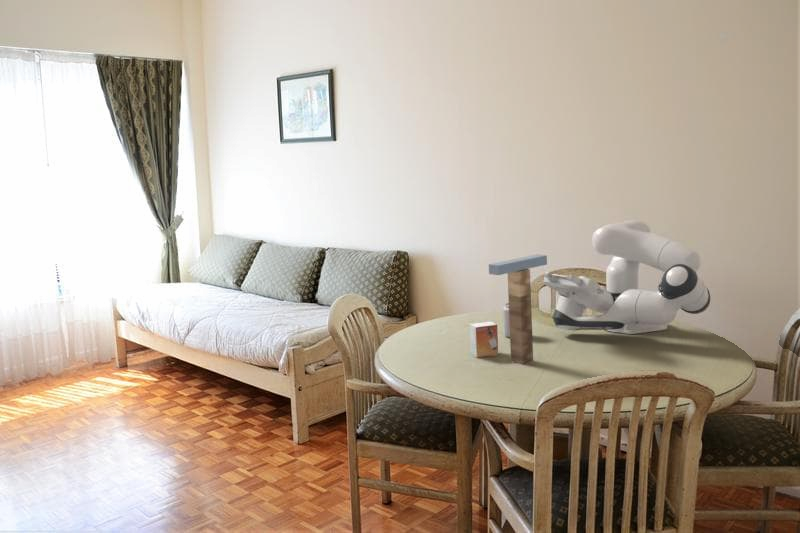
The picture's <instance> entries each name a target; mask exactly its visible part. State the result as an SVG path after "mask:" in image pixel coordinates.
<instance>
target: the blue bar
mask: <svg viewBox="0 0 800 533" xmlns="http://www.w3.org/2000/svg"><path fill="white" fill-rule="evenodd" d="M547 264H548V256H547V255H546V254H534V255H528V256H522V257H518V258H514V259H508V260H503V261H498V262H494V263H490V264H488V274H489V275H494V276H500V275H501V276H502V275H506V274H508V273H511V272H515V271H520V270H525V269H534V268H537V267H542V266H543V267H544V266H546V265H547Z"/></svg>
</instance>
